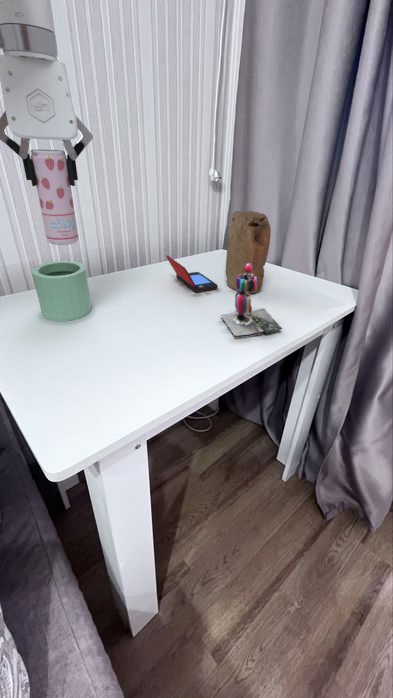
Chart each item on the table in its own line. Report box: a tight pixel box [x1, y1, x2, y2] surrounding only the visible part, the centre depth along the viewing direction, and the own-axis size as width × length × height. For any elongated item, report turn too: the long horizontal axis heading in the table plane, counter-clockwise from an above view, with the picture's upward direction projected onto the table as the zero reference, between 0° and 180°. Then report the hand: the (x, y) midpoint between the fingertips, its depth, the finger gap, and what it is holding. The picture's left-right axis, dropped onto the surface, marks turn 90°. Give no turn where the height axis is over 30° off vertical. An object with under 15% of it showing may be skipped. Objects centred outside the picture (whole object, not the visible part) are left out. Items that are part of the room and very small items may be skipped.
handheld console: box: [165, 255, 219, 293], centre depth 92 cm, size 12×11×7 cm
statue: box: [220, 263, 283, 340], centre depth 70 cm, size 11×9×15 cm
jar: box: [31, 260, 92, 322], centre depth 74 cm, size 11×11×10 cm
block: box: [224, 210, 272, 294], centre depth 88 cm, size 11×8×20 cm
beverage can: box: [30, 148, 80, 246], centre depth 59 cm, size 6×6×15 cm
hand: (53, 183), depth 58 cm, fingers closed on beverage can, 5 cm apart
